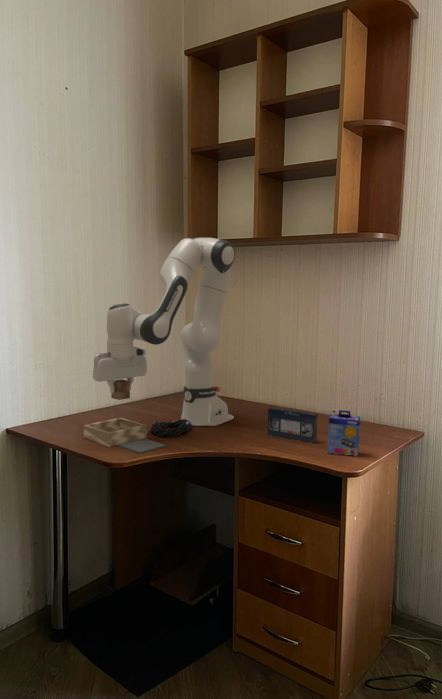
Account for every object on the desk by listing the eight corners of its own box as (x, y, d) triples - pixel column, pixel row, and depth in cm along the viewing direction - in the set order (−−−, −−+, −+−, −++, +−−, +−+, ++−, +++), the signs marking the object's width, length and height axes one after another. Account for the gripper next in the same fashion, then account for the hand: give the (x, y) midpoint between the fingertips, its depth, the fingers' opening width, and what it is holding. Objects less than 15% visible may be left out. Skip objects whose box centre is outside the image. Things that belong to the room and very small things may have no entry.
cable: (179, 440, 191) (179, 428, 190) (142, 436, 195) (142, 425, 194) (194, 428, 207) (194, 417, 207) (160, 425, 211) (160, 414, 211)
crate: (121, 429, 203) (121, 417, 202) (146, 437, 193) (146, 425, 192) (83, 437, 191) (83, 425, 191) (109, 446, 181) (109, 433, 180)
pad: (144, 440, 189) (144, 438, 189) (165, 446, 182) (165, 444, 182) (118, 446, 181) (118, 444, 181) (139, 453, 174) (139, 451, 174)
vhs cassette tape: (266, 435, 198) (267, 408, 197) (271, 433, 200) (271, 407, 199) (313, 444, 188) (314, 415, 186) (316, 442, 190) (317, 414, 189)
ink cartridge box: (326, 454, 176) (328, 410, 175) (328, 449, 182) (330, 406, 180) (358, 457, 174) (360, 412, 172) (359, 452, 179) (360, 408, 177)
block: (122, 396, 191) (122, 379, 191) (129, 398, 188) (129, 380, 187) (111, 397, 188) (111, 380, 187) (119, 399, 185) (118, 382, 184)
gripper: (99, 354, 177) (100, 396, 178) (149, 350, 191) (149, 388, 193) (88, 353, 181) (89, 394, 183) (138, 348, 196) (138, 386, 197)
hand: (120, 391), depth 188 cm, fingers closed on block, 4 cm apart
